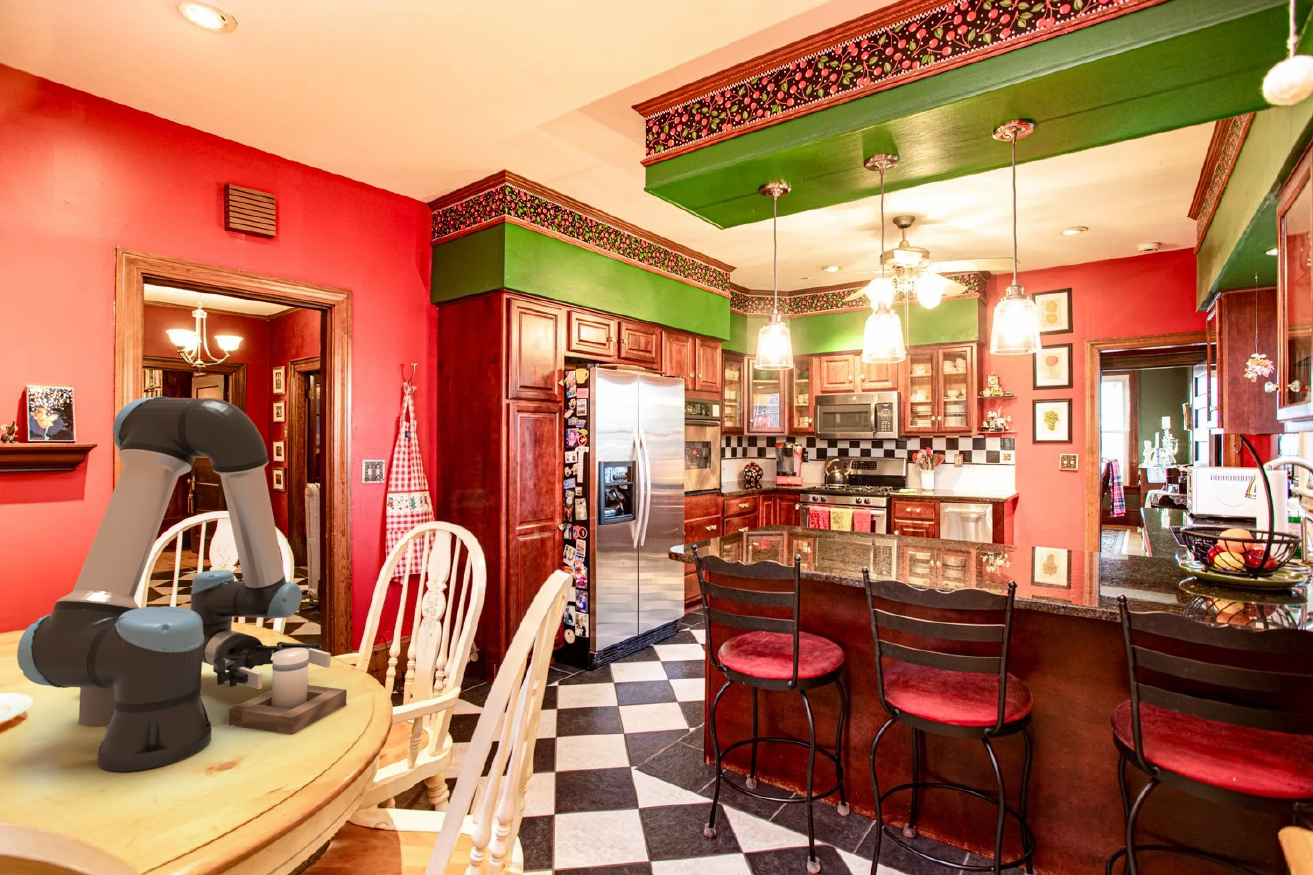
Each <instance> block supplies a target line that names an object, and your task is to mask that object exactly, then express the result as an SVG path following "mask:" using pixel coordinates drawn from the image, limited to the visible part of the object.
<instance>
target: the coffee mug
mask: <svg viewBox="0 0 1313 875" xmlns="http://www.w3.org/2000/svg"><path fill="white" fill-rule="evenodd" d="M79 689H80V690H79V710H78V712H79V713H78V714H79V715H78V716H79V717H78V724H79V725H81V726H82V727H89V728H91V727H92V728H95V727H105V726H106V727H108V726H109V723H110V721H111V718H112V716H113V713H114V701H115V699H114V698H115V689H114V688H84V687H79ZM107 725H108V726H107Z"/></svg>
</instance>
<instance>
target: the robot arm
mask: <svg viewBox="0 0 1313 875" xmlns="http://www.w3.org/2000/svg"><path fill="white" fill-rule="evenodd" d="M112 434H114V437H113V442H114V444H115V445H116V447H117V448H118V449H119V451H118V453H117V456H118V458H119V459H120V461H121V462H122V463H123V468H122V471H120V472H121V473H120V475H119V478H118V481H117V483H116V485H115V487H114V489H113V493H111V494H112V495H111V497H110V499H109V502H108V505H107V507H106V510H105V511H104V515H103V516H102V519H101V521H100V524H99V527H98V529H97V531H96V534H95V536H94V539H93V540H92V543H91V545H90V548H89V551H88V553H87V556H86V559H85V561H84V563H83V566H82V568H81V571H80V572H79V575H78V578H77V580H76V582H75V585H74V587H73V590H72V591H71V592H70V593H69V594H66V595H65V596H62V597H61V598H59V599H57V600H56V602H55V604H54V607H53V609H52V611H51V613H50V614H47V615H43V616H41V617H40V618H38V619H36V620H35V622H34V623H31V624H29V626H28V627H27V628H26V630H25V631H24V632H23V634H22V635H21V637H20V640H19V643H18V645H17V654H16V658H17V664H18V667H19V669H20V670H22V675H23V676H24V677H25V678H26V679H28V680H29V681H30V682H32V683H34V684H37V685H41V686H49V687H54V688H62V689H67V688H80V687H84V688H114V689H115V698H114V699H115V701H114V713H113V716H112V718H111V721H110V723H109V725H108V726H107V729H106V732H105V734H104V737H103V740H102V741H101V743H100V745H99V747H98V750H97V751H98V753H97V765H98V766H99V767H100V769H104V770H106V771H112V772H134V771H143V770H149V769H154V768H158V767H161V766H166V765H169V764H173V763H176V762H179V761H181V760H184V759H186V758H188V757H190V756H193V755H194V754H196V753H198V752H200V751H202V750H203V749H205V748H206V747H207V746H208V745H209V744H210V742H211V741H212V724H211V721H210V719H209V717H208V713H207V711H206V707H205V705H204V703H203V700H202V697H201V695H202V694H201V693H202V692H201V691H202V670H203V663H204V664H208V665H210V666H212V667H213V668H212V672H213V673H215V674H216V685H217V686H223V685H225V684H226V682H228V683H229V686H228V687H230V688H234V687H237V685H238V684H240V685H241V684H242V685H245V686H248V687H251V688H253V689H257V690H259V689H262V688H263V676H264V674H263V673H262V672H261V671H260V672H259V671H256V670H253V669H254V668H255V667H259V666H260V667H262V666H264V665H273V659H272V658H273V654H274V653H275V652H278V651H280V650H284V649H290V648H306V649H308V650H309V664H313V665H315V666H319V667H323V668H326V669H327V668H331V657H332V656H331V655H332V654H331V652H327V651H323V650H322V644H320V643H314V642H313V643H298V642H297V643H296V642H295V643H294V642H293V643H292V642H286V641H285V642H284V641H279V642H276V645H266V644H263V643H262V641H261V640H260V639H259V638H258V637H256V636H252V635H250V634H246V633H243V632H240V631H236V630H232V627H233V624H232V622H233V618H234V617H235V618H264V619H270V620H272V619H282V618H283V619H286V618H290V617H292V616H293V615H295V613H296V612H297V611H298V610H299V608H300V606H301V602H302V598H303V594H302V593H303V592H302V590H301V587H299V584H297V583H295V582H291V581H287V579H286V574H285V570H284V565H283V562H282V561H283V560H282V554H281V550H280V549H281V548H280V544H279V541H278V540H279V539H278V533H277V529H276V523H275V519H274V518H275V517H274V514H273V508H272V507H273V506H272V502H271V497H270V493H269V486H268V482H267V481H268V480H267V477H266V471H265V467H266V466H267V465H268V464H269V462H270V461H269V456H268V451H267V447H266V445H265V441H264V438H263V437H262V435H261V433H260V432H259V429H258V428H257V426H256V425H255V423H254V422H253V421H252V419H251V418H250V417H249V416H248V415H247V414H246V413H245V412H243V410H241V409H240V408H239V407H238V406H236V405H235V404H233V403H231V402H228V401H226V400H224V399H223V400H222V399H219V398H215V397H214V398H211V397H205V398H200V397H199V398H198V397H195V398H194V397H192V398H191V397H190V398H189V397H168V396H153V397H143V398H138V399H135V400H132V401H131V402H129V403H127V404H125V406H123V408H121V410H120V411H118V414H117V415H116V417H115V419H114V422H113V425H112ZM197 457H200V458H201V457H205V458H208V460H209V461H210V464H211V467H212V471H213V473H215V474H217V475H219V476H220V479H221V485H222V489H223V493H224V498H225V502H226V507H227V512H228V515H229V520H230V525H231V531H232V534H233V540H234V543H235V546H236V547H235V548H236V552H237V558H238V560H239V565H240V570H241V574H242V579H243V581H242V580H241V581H239V580H236V581H235V575H234V572H233V571H232V570H225V569H217V570H207V571H202V572H198V573H197V574H196V575H194V576H193V578H192V584H191V592H190V609H189V608H185V607H180V606H179V607H178V606H165V605H163V606H145V607H140V606H139V605H138V604H137V603H136V601H135V596H136V593H137V590H138V588H139V585H140V583H141V580H142V577H143V574H144V572H145V568H146V566H147V563H148V561H149V558H150V555H151V552H152V551H153V550H152V549H153V547H154V545H155V542H156V539H157V537H158V533H159V531H160V529H161V527H162V526H161V525H162V522H163V520H164V517H165V514H166V512H167V509H168V507H169V504H170V501H171V498H172V496H173V493H174V490H175V487H176V486H177V482H178V480H179V477H180V476H183V475H185V474H187V473H190V472H191V470H192V468H193V465H194V463H195V459H196V458H197Z"/></svg>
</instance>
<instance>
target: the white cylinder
mask: <svg viewBox="0 0 1313 875" xmlns="http://www.w3.org/2000/svg"><path fill="white" fill-rule="evenodd" d="M272 660H273V664H272V669H271V670H272V680H271V690H272V703H271V707H278V708H286V709H293V708H295V707H297V706H299V705H301V704H303V703H305V702H307V686H308V685H309V684H308V681H309V680H308V679H309V677H308V676H309V664H310V663H309V650H308V649H306V648H290V649H284V650H280V651H278V652H275V653H273V655H272Z"/></svg>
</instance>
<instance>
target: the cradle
mask: <svg viewBox="0 0 1313 875" xmlns="http://www.w3.org/2000/svg"><path fill="white" fill-rule="evenodd" d="M347 691H348V690H347V689H345V688H336V687H327V686H320V685H311V684H308V686H307V702H305V703H303V704H301V705H299V706H297V707H295V708H293V709H286V708H278V707H271V703H272V689H271V690H268V691H267V692H264V693H262V694H260V695H258V696H255V697H252V698H251V699H249V700H246V701H244V702H242V703H240V704H237V705H235V706H232V707H230V708H228V726H231V725H234V726H233V727H237V726H238V727H239V728H246V729H253V730H259V731H267V732H272V731H274V732H275V733H279V734H287V735H293V734H294V735H295V733H297V732H299V731H302V729H304V728H306V727H308V726H310V725H311V724H313V723H315V722H318V721H319V720H321V719H322V718H325V717H326V716H328V715H330V714H332V713H334V712H335V711H337V710H339V709H340V708H343V707H344V706H345V707H346V705H347V694H348V693H347ZM274 732H273V733H274Z"/></svg>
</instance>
